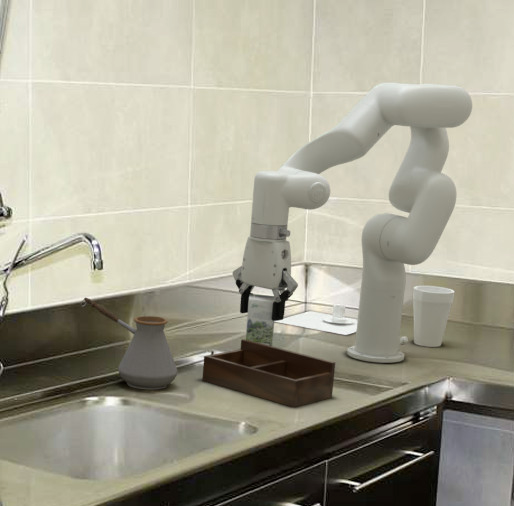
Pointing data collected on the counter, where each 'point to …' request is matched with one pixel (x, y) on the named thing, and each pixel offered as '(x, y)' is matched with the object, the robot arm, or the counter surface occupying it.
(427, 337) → the foam cup
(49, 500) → the counter surface
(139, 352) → the coffee pot
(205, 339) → the counter surface
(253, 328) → the tea packet
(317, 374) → the compartment tray
